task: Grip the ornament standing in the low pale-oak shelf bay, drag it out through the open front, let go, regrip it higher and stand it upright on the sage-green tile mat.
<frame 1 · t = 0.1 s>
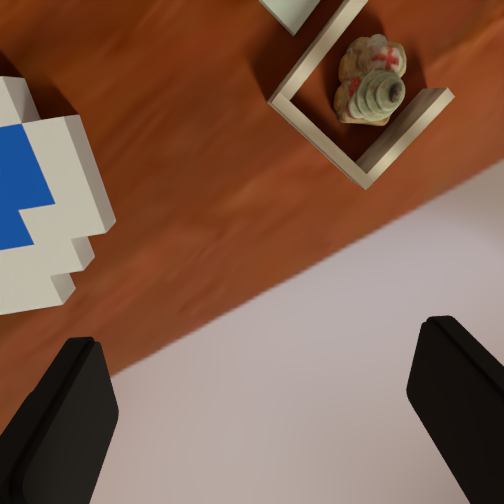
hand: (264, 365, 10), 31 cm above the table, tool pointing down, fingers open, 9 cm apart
ornament: (360, 84, 35), on the table
shelf bay: (361, 84, 35), on the table
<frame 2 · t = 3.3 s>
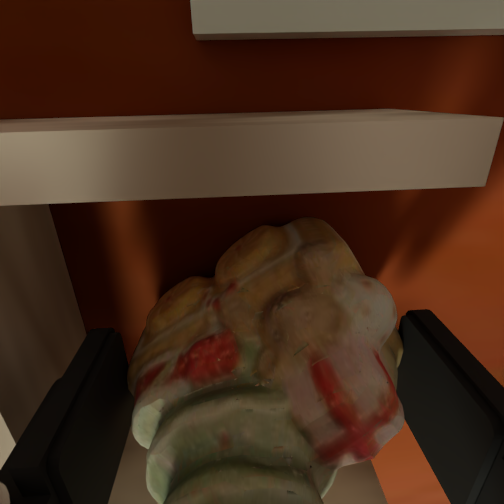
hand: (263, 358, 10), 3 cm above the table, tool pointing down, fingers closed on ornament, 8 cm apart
ornament: (259, 302, 13), on the table, touching gripper
shelf bay: (258, 305, 12), on the table
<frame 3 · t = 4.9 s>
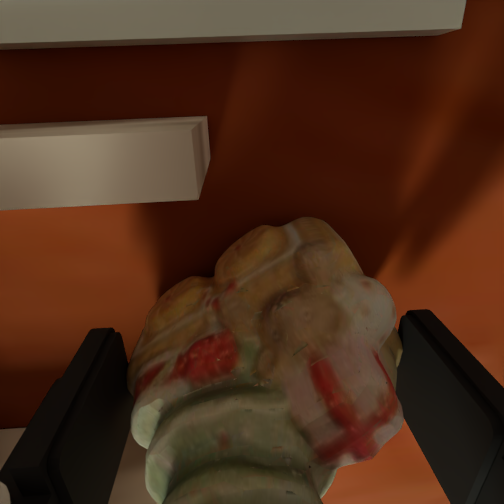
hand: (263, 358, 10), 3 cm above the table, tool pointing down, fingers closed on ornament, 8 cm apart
ornament: (258, 302, 13), on the table, touching gripper
shelf bay: (115, 315, 12), on the table
when the fingers open (3 cm above the table, at t = 6.6 s): ornament stays where it is, on the table.
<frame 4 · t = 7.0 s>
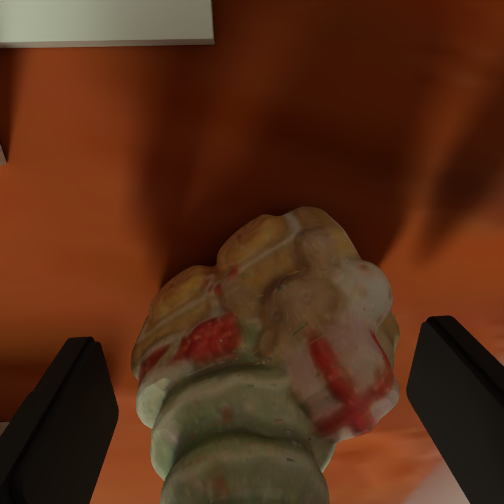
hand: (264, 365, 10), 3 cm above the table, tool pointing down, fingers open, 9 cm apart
ornament: (259, 291, 13), on the table
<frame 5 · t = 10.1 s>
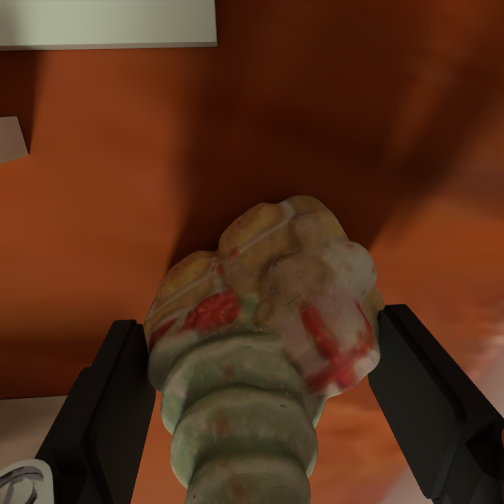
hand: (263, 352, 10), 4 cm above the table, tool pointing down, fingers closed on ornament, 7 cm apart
ornament: (258, 276, 14), on the table, touching gripper
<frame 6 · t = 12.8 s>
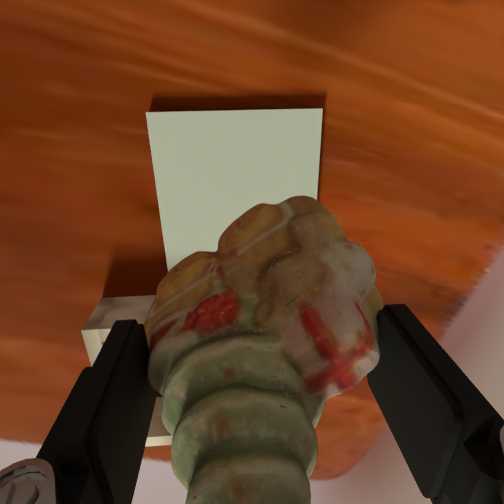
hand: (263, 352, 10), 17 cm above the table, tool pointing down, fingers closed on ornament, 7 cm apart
tile mat: (238, 199, 26), on the table
ornament: (257, 277, 14), point 13 cm above the table, touching gripper
shelf bay: (197, 352, 32), on the table
when the fingers open (6 cm above the table, at t = 15.6 s): ornament stays where it is, resting on tile mat.
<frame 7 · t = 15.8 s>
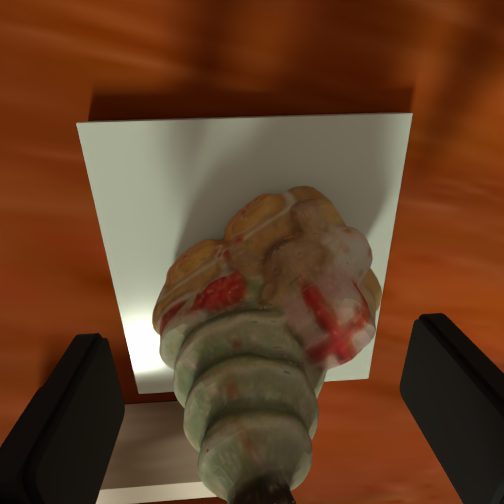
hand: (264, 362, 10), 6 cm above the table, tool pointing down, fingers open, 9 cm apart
tile mat: (251, 266, 15), on the table
ornament: (261, 265, 15), point 1 cm above the table, touching tile mat
shelf bay: (187, 474, 22), on the table
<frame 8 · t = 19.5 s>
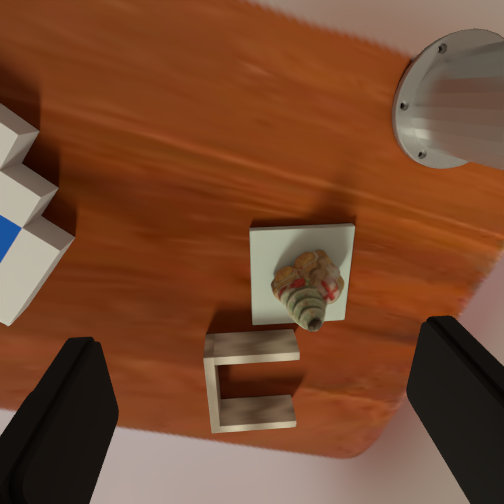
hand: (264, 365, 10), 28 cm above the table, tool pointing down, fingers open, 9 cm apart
tile mat: (299, 274, 41), on the table
ornament: (303, 274, 40), point 1 cm above the table, touching tile mat
shelf bay: (263, 368, 47), on the table
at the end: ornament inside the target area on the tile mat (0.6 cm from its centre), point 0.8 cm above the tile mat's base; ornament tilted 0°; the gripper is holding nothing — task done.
